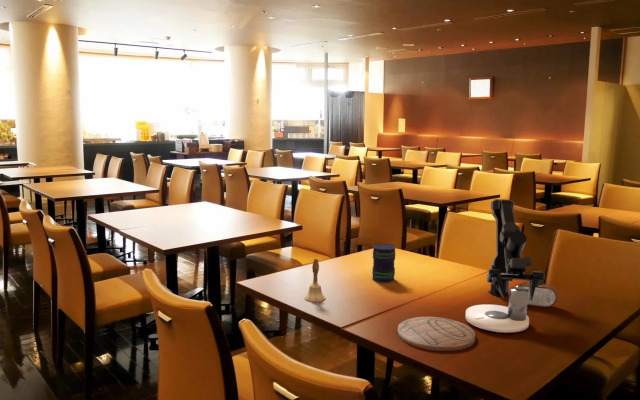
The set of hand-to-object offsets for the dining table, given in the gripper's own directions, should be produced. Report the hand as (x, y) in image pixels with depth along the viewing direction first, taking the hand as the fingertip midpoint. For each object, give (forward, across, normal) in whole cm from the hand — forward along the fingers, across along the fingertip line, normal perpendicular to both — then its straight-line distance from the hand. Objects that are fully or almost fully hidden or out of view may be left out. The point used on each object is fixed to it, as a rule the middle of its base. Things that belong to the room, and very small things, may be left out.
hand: (517, 298), depth 182 cm
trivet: (+17, -28, -2) cm, 33 cm away
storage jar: (-25, -48, +38) cm, 66 cm away
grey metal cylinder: (+5, 0, +4) cm, 6 cm away
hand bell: (-3, -73, +17) cm, 75 cm away
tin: (-9, +12, +23) cm, 27 cm away
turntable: (+6, -6, +7) cm, 12 cm away
